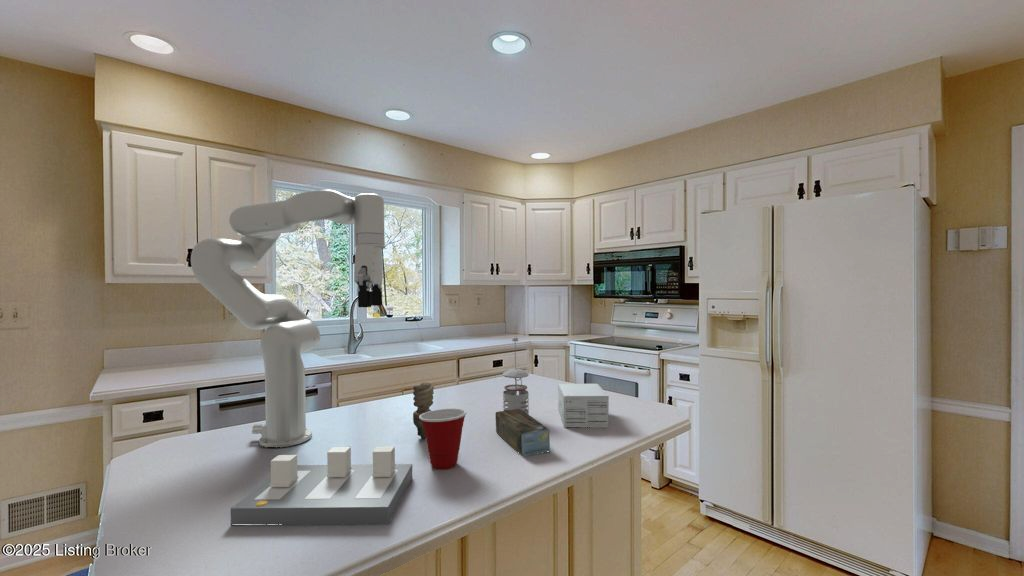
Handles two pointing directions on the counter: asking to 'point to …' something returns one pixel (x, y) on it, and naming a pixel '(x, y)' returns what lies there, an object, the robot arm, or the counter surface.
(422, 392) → the light bulb
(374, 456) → the block
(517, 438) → the beverage carton
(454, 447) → the plastic cup
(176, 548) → the counter surface
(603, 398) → the supplement box
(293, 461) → the breaker left
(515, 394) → the french press
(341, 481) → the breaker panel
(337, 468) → the block
